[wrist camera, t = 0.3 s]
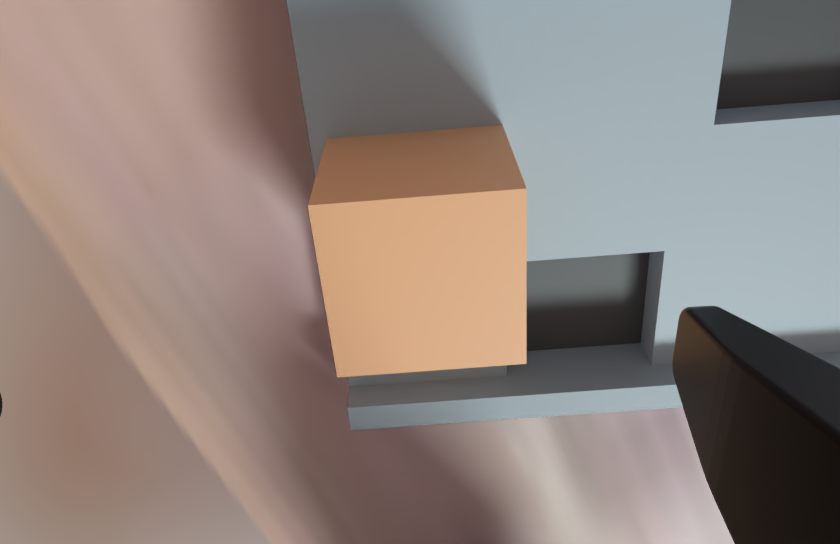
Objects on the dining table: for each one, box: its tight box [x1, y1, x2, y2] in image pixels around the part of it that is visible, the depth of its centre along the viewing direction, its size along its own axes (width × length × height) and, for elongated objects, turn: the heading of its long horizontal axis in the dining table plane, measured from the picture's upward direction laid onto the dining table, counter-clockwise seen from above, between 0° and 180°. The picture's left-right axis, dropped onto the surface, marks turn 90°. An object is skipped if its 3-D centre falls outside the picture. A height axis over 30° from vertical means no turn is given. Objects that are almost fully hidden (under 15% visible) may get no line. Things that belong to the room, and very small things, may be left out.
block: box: [308, 125, 527, 378], centre depth 19 cm, size 5×5×4 cm
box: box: [286, 0, 840, 430], centre depth 21 cm, size 15×24×3 cm, turn 94°
